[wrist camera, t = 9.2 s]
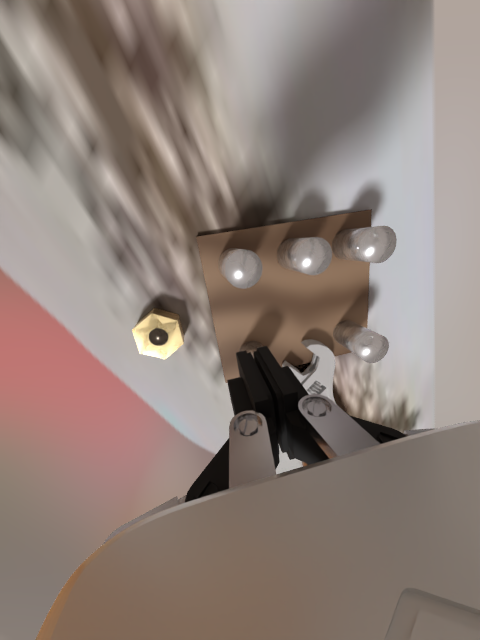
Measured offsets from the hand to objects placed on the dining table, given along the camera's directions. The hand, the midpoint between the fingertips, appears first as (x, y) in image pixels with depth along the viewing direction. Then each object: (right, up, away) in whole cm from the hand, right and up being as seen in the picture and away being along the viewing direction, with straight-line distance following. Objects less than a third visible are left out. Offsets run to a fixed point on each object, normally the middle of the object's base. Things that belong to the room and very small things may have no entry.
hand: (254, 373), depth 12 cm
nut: (-9, +2, +12) cm, 15 cm away
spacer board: (+5, +5, +14) cm, 15 cm away
